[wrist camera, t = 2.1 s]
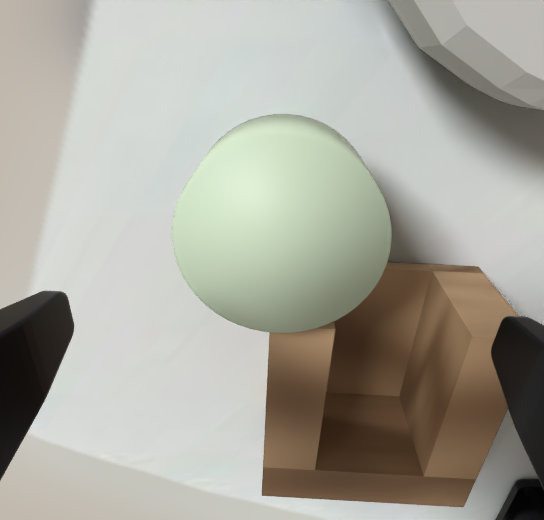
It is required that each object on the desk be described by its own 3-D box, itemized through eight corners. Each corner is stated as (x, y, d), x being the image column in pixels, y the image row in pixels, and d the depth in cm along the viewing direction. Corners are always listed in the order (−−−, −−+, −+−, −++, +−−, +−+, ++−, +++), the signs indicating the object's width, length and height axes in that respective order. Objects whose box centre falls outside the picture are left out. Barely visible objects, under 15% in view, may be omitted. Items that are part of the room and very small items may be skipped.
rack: (429, 416, 23) (463, 507, 18) (266, 407, 23) (261, 495, 18) (478, 266, 18) (538, 340, 14) (274, 256, 18) (269, 325, 14)
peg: (347, 249, 18) (372, 337, 13) (210, 242, 18) (179, 327, 13) (369, 104, 15) (412, 141, 10) (206, 96, 15) (162, 129, 10)
